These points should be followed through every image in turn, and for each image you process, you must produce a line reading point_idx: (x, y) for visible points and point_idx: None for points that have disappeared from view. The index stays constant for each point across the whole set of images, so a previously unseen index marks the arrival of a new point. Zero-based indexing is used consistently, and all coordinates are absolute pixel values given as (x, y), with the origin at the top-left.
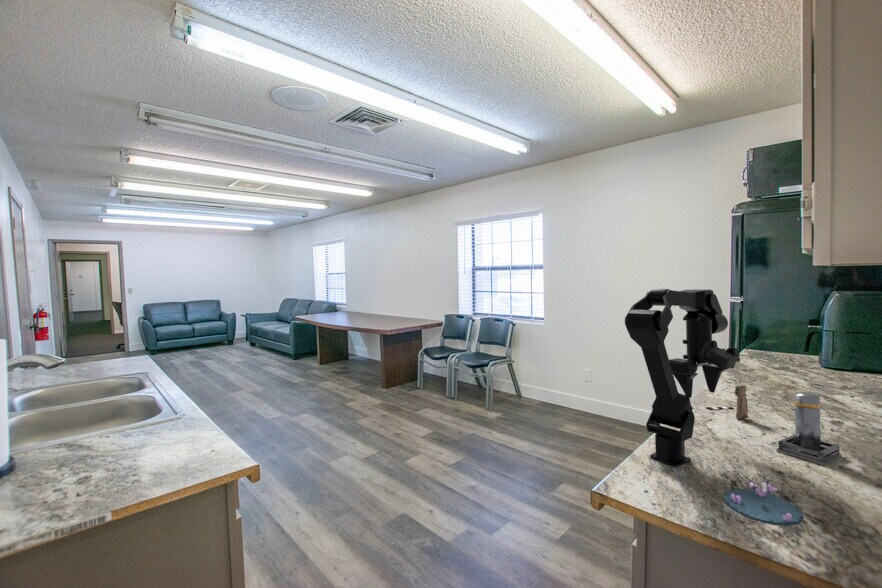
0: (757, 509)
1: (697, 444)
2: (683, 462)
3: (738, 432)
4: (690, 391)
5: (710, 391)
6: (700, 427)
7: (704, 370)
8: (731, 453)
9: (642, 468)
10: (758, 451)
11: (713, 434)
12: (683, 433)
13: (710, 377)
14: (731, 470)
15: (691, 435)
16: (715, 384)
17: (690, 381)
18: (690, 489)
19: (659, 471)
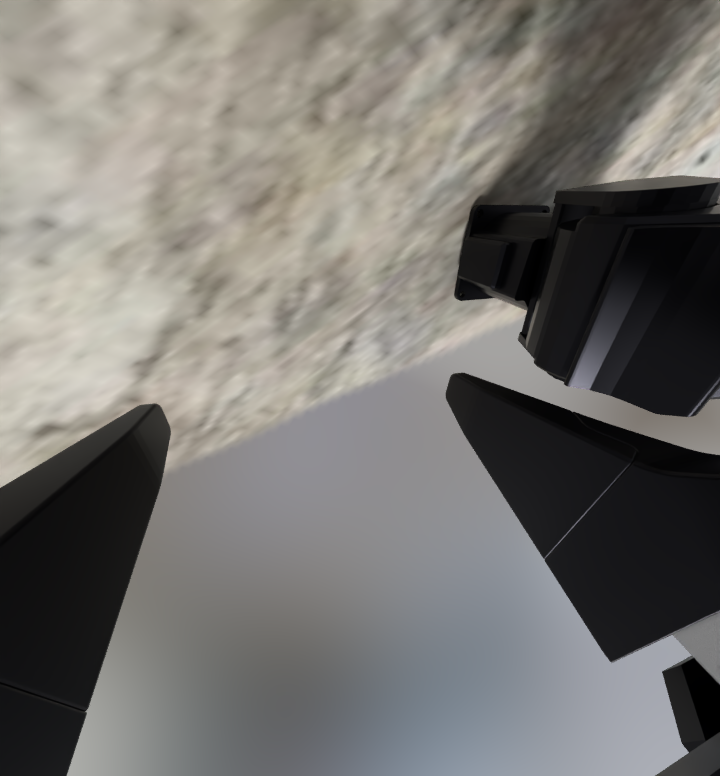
0: None
1: (324, 288)
2: (513, 205)
3: (17, 287)
4: (510, 390)
5: (165, 426)
6: (168, 389)
7: (58, 758)
8: (288, 151)
9: None
10: (126, 60)
11: (177, 324)
12: (659, 178)
13: (75, 586)
14: (452, 40)
15: (569, 189)
16: (92, 455)
17: (643, 441)
18: (663, 68)
19: None
